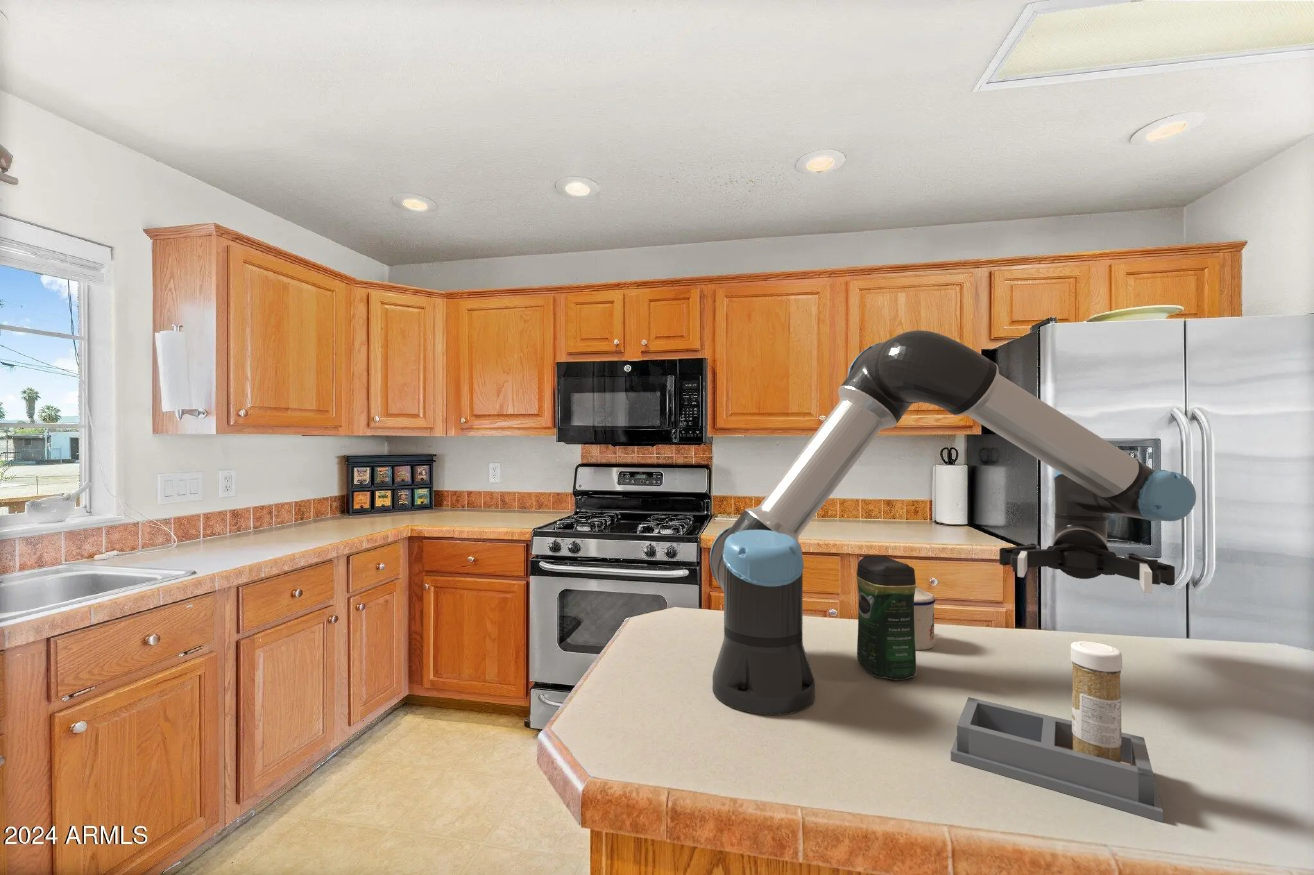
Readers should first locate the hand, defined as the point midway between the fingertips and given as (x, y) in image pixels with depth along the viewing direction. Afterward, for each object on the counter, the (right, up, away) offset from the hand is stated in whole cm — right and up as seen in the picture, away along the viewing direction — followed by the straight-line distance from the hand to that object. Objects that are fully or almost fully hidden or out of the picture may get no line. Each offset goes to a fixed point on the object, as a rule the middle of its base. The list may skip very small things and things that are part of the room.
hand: (1081, 574), depth 76 cm
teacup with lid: (-9, -21, +33) cm, 40 cm away
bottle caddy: (-11, -20, -10) cm, 25 cm away
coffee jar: (-19, -20, +18) cm, 33 cm away
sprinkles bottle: (-8, -19, -13) cm, 24 cm away
